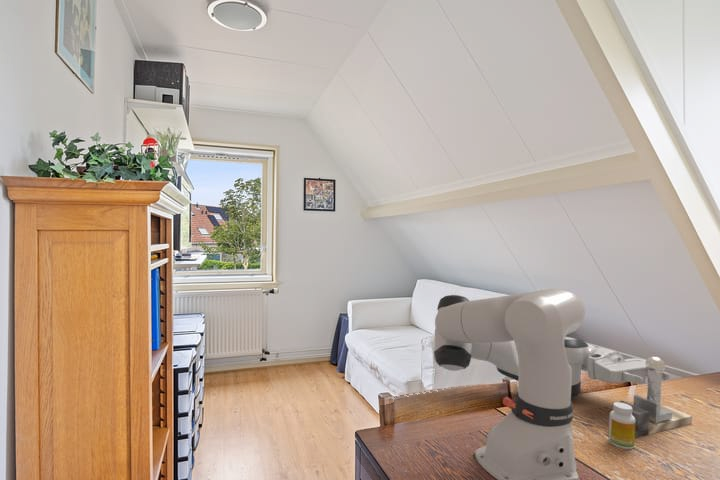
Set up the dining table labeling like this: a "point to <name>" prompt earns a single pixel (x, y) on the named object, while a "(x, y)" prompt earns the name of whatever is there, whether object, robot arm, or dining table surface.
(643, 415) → the press base
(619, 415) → the supplement bottle
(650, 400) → the press slide
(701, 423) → the dining table surface
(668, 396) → the dining table surface
